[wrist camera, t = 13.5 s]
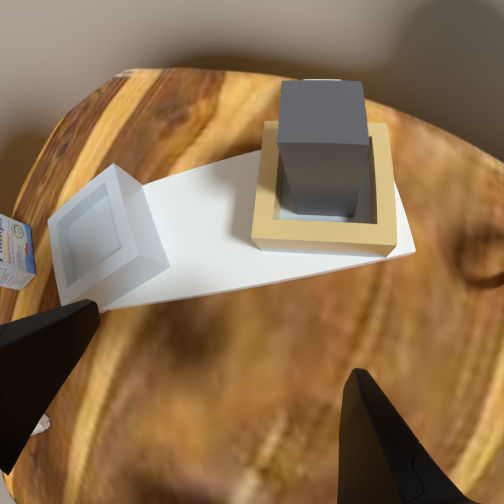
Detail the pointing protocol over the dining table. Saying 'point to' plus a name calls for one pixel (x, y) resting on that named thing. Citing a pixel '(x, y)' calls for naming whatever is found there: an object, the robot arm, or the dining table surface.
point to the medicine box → (15, 254)
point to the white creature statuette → (42, 425)
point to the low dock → (326, 227)
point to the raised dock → (105, 241)
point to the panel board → (227, 237)
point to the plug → (323, 144)
